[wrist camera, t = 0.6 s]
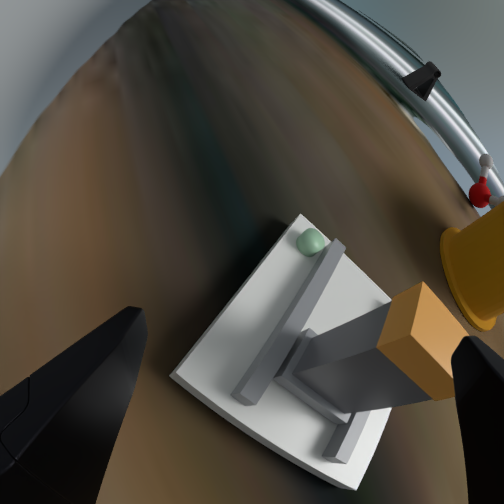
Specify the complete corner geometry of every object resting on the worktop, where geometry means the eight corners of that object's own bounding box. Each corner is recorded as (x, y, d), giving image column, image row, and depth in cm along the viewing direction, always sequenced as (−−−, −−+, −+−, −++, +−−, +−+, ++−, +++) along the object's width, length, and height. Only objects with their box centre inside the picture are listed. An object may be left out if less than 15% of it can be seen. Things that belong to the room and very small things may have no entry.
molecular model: (453, 168, 63) (481, 144, 55) (465, 179, 65) (493, 157, 57) (475, 227, 54) (511, 202, 46) (487, 237, 56) (521, 214, 48)
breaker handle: (335, 424, 20) (468, 403, 11) (272, 378, 19) (402, 336, 11) (356, 379, 22) (478, 340, 14) (299, 332, 22) (419, 269, 14)
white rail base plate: (339, 487, 19) (370, 491, 17) (169, 376, 19) (181, 369, 16) (402, 331, 30) (428, 320, 27) (288, 225, 29) (310, 204, 27)
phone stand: (407, 88, 82) (431, 63, 72) (401, 78, 85) (423, 55, 75) (425, 101, 85) (448, 78, 76) (419, 91, 88) (440, 69, 79)
